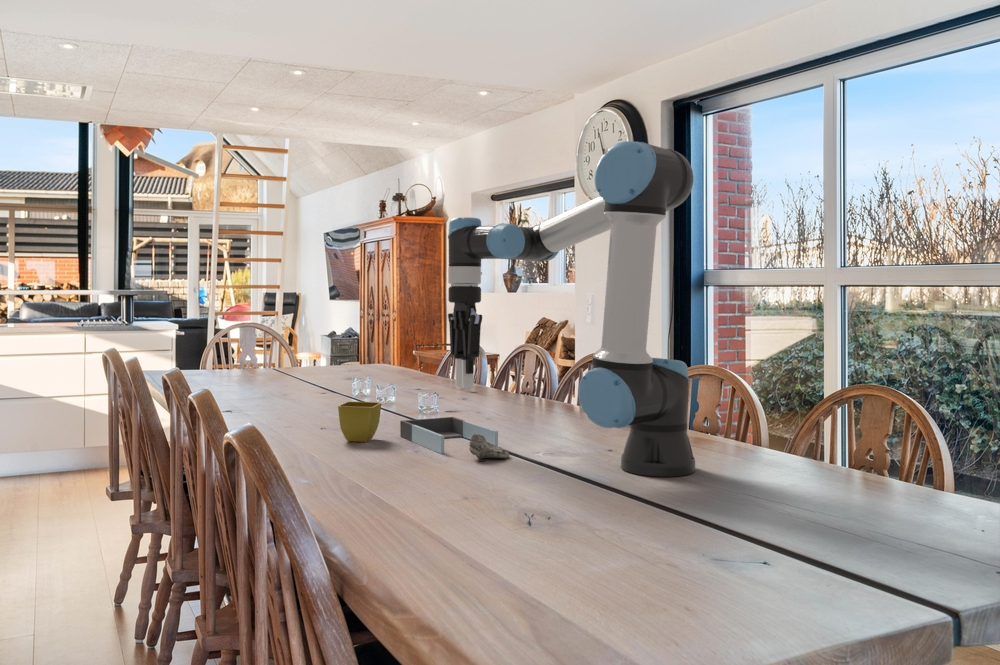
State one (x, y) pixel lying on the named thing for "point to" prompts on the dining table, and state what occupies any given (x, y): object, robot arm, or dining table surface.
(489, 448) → the rock sample
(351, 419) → the flower pot
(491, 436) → the strips
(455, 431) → the grey open box
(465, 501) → the dining table surface
